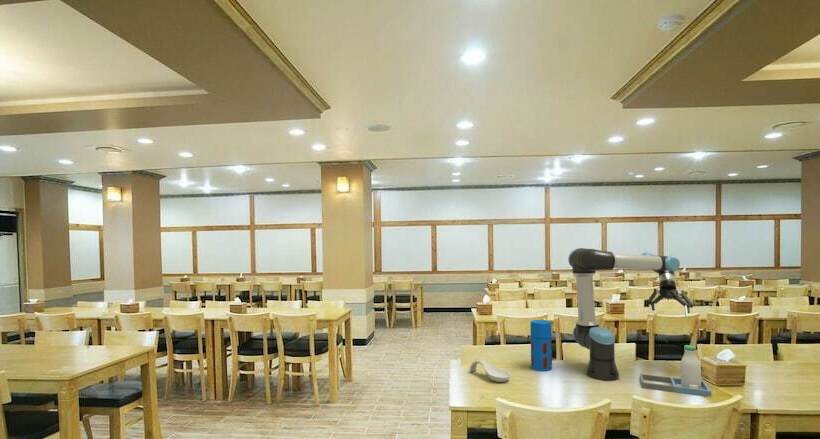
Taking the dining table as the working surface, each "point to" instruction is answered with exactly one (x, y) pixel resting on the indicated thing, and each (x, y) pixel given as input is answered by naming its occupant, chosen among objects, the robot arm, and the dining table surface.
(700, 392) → the bay frame
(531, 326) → the thermos
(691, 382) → the milk bottle
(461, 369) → the dining table surface
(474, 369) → the spoon rest
